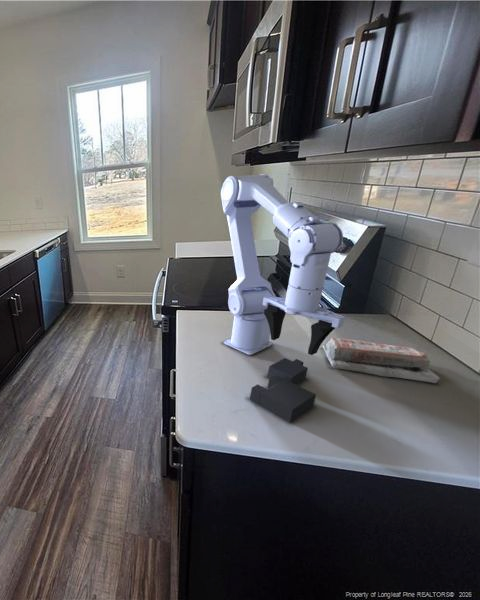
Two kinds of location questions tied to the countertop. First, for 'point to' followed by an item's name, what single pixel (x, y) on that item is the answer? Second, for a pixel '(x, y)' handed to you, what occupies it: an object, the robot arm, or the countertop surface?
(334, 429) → the countertop surface
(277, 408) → the black pad
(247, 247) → the robot arm
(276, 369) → the graphite pad
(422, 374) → the packaged product
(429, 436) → the countertop surface
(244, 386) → the countertop surface
